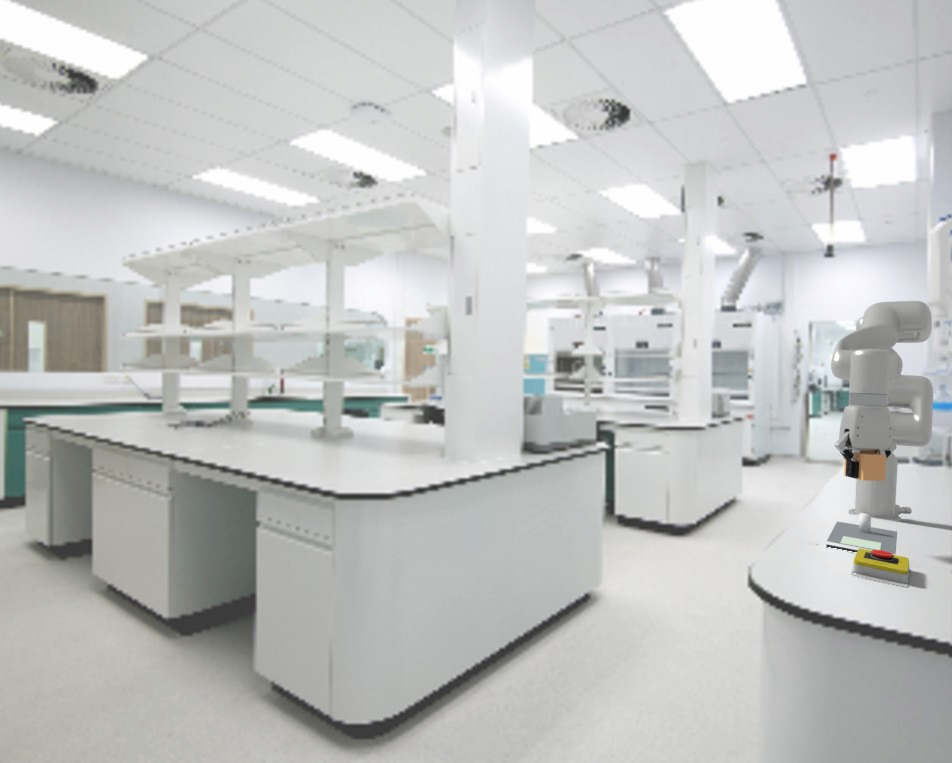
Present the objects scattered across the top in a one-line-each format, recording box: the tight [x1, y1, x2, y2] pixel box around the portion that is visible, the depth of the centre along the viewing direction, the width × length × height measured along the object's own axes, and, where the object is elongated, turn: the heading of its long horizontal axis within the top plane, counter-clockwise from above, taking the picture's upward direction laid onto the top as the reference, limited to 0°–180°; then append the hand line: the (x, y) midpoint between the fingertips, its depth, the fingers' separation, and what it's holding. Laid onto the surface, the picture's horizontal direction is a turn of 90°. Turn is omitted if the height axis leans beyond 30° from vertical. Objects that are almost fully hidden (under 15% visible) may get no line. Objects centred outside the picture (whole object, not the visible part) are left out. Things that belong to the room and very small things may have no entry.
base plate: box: [825, 513, 898, 555], centre depth 136 cm, size 24×13×6 cm, turn 141°
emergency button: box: [850, 548, 911, 588], centre depth 115 cm, size 9×4×15 cm
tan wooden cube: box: [843, 450, 886, 481], centre depth 129 cm, size 6×6×7 cm
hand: (864, 476), depth 130 cm, fingers closed on tan wooden cube, 5 cm apart
